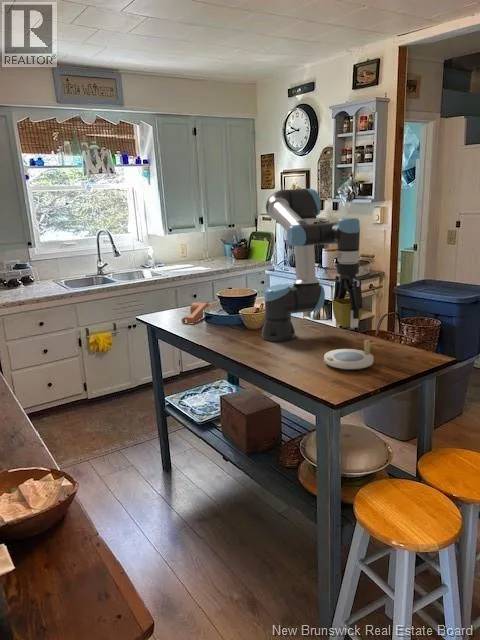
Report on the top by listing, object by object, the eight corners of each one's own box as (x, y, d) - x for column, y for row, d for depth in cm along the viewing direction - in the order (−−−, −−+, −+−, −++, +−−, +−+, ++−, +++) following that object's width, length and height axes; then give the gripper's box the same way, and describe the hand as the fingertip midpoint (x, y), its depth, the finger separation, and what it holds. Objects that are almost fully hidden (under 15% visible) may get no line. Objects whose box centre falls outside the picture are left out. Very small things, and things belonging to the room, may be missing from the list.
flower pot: (363, 326, 171) (364, 302, 169) (341, 329, 169) (341, 304, 167) (352, 320, 179) (353, 297, 177) (331, 323, 178) (331, 299, 175)
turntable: (315, 356, 183) (315, 340, 182) (355, 350, 189) (356, 334, 187) (340, 372, 167) (340, 354, 165) (383, 364, 173) (384, 347, 171)
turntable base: (324, 361, 182) (324, 358, 182) (353, 356, 186) (353, 353, 186) (342, 372, 170) (342, 369, 170) (373, 367, 174) (373, 364, 174)
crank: (197, 315, 263) (196, 301, 261) (210, 315, 260) (209, 301, 258) (179, 324, 246) (178, 309, 244) (193, 325, 243) (192, 310, 241)
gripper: (324, 260, 177) (324, 318, 183) (355, 267, 158) (354, 332, 163) (341, 258, 180) (341, 316, 185) (374, 265, 160) (373, 329, 165)
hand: (347, 324), depth 174 cm, fingers closed on flower pot, 9 cm apart
